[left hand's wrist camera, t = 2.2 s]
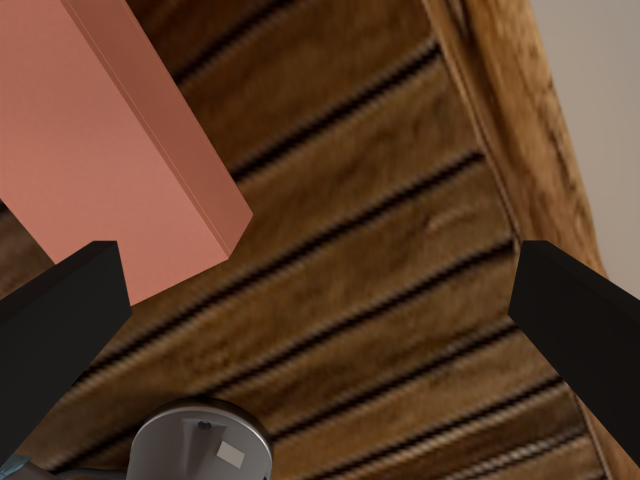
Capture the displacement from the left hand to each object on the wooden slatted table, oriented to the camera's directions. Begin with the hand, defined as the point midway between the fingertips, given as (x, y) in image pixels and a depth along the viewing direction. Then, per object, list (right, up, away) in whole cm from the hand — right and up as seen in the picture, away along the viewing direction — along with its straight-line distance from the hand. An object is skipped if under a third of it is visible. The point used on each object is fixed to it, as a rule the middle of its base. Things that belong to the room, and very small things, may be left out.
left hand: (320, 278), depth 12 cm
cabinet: (-15, +10, +18) cm, 25 cm away
